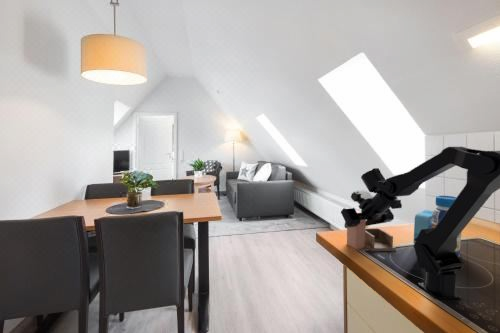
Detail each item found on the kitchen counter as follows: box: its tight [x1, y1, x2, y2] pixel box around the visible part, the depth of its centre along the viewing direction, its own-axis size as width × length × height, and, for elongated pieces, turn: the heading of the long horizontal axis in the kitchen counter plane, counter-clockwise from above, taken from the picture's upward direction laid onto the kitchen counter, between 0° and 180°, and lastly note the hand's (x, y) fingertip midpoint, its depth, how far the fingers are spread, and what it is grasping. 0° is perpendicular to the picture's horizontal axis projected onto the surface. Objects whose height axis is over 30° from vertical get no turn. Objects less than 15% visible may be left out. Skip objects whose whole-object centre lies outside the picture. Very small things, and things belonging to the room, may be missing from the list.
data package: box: [413, 209, 434, 244], centre depth 95 cm, size 12×4×12 cm, turn 127°
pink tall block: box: [346, 209, 367, 250], centre depth 93 cm, size 5×4×13 cm
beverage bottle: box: [431, 195, 462, 257], centre depth 86 cm, size 8×8×20 cm
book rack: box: [365, 227, 397, 252], centre depth 94 cm, size 10×9×5 cm
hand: (355, 225), depth 94 cm, fingers open, 9 cm apart
